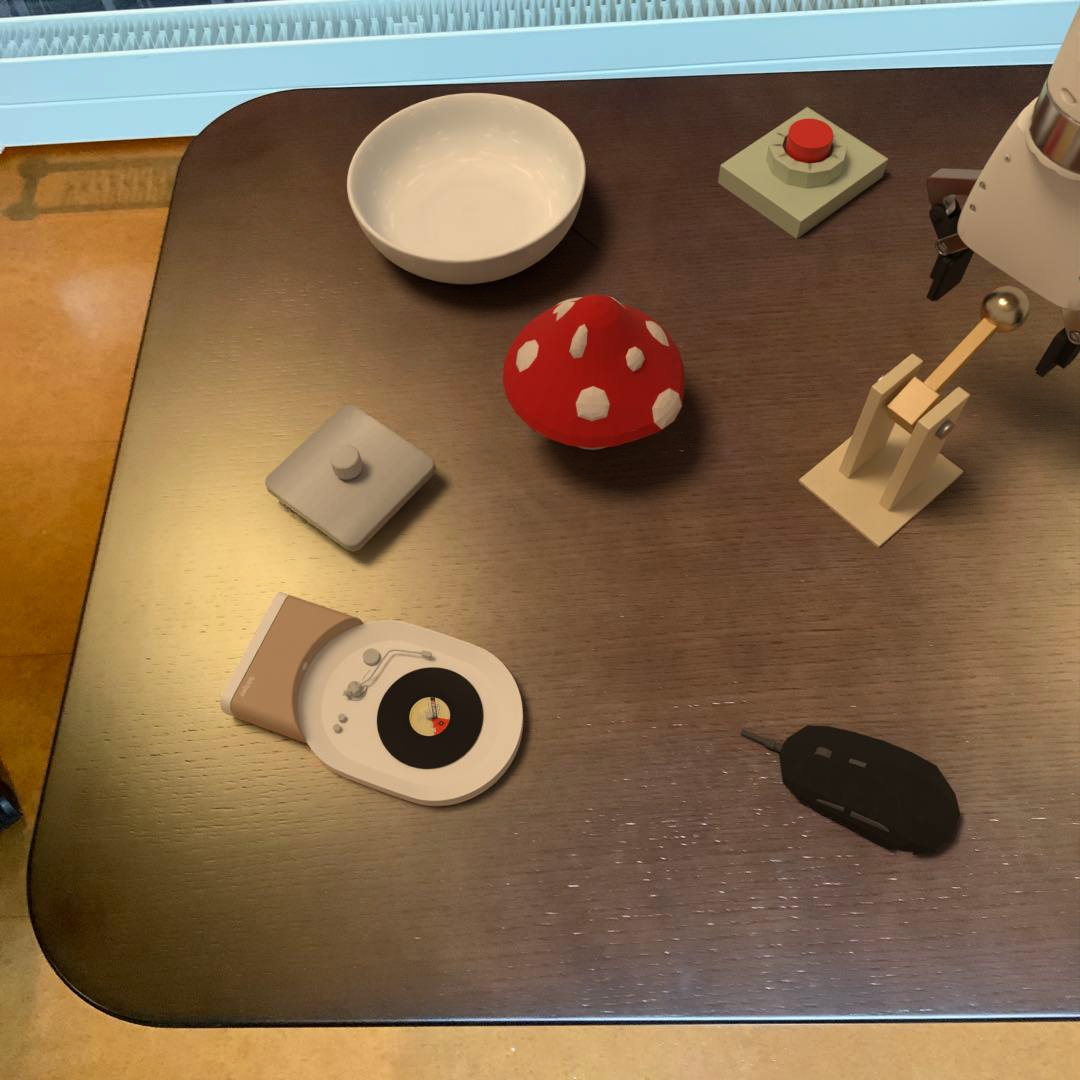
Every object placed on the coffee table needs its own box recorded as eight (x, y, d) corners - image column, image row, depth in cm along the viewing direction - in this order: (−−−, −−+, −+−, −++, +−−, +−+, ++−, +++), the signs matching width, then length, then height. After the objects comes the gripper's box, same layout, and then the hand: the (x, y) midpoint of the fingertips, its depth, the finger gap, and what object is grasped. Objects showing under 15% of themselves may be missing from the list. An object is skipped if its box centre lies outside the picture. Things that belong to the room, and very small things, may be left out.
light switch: (358, 567, 80) (346, 534, 75) (268, 501, 83) (251, 465, 79) (443, 480, 83) (436, 444, 79) (353, 420, 87) (341, 382, 82)
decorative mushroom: (502, 366, 89) (490, 234, 76) (664, 354, 89) (679, 220, 76) (512, 507, 82) (501, 388, 69) (687, 494, 82) (709, 372, 69)
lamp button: (805, 128, 97) (809, 112, 96) (838, 149, 96) (842, 133, 94) (776, 148, 96) (779, 132, 95) (809, 170, 95) (813, 154, 93)
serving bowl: (331, 192, 100) (315, 131, 94) (532, 129, 104) (530, 67, 98) (403, 345, 90) (391, 289, 84) (623, 271, 94) (626, 211, 88)
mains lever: (1000, 289, 75) (1003, 269, 72) (1038, 314, 73) (1042, 295, 70) (882, 414, 76) (880, 400, 73) (917, 441, 74) (917, 427, 72)
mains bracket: (879, 418, 85) (921, 319, 75) (959, 479, 82) (1014, 385, 72) (796, 487, 82) (827, 394, 72) (875, 554, 79) (920, 466, 69)
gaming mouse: (757, 694, 74) (767, 672, 70) (965, 788, 70) (986, 770, 67) (723, 772, 71) (730, 753, 68) (937, 874, 67) (957, 860, 64)
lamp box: (803, 125, 103) (811, 90, 100) (882, 177, 99) (893, 142, 96) (717, 183, 99) (722, 148, 96) (796, 239, 95) (805, 205, 92)
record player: (286, 573, 76) (546, 659, 72) (296, 592, 79) (546, 676, 75) (208, 718, 71) (484, 819, 67) (221, 733, 73) (486, 831, 70)
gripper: (1281, 167, 57) (1133, 370, 72) (1015, 23, 64) (931, 235, 79) (1204, 235, 55) (1067, 429, 70) (937, 77, 62) (865, 286, 76)
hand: (995, 326), depth 74 cm, fingers open, 8 cm apart
